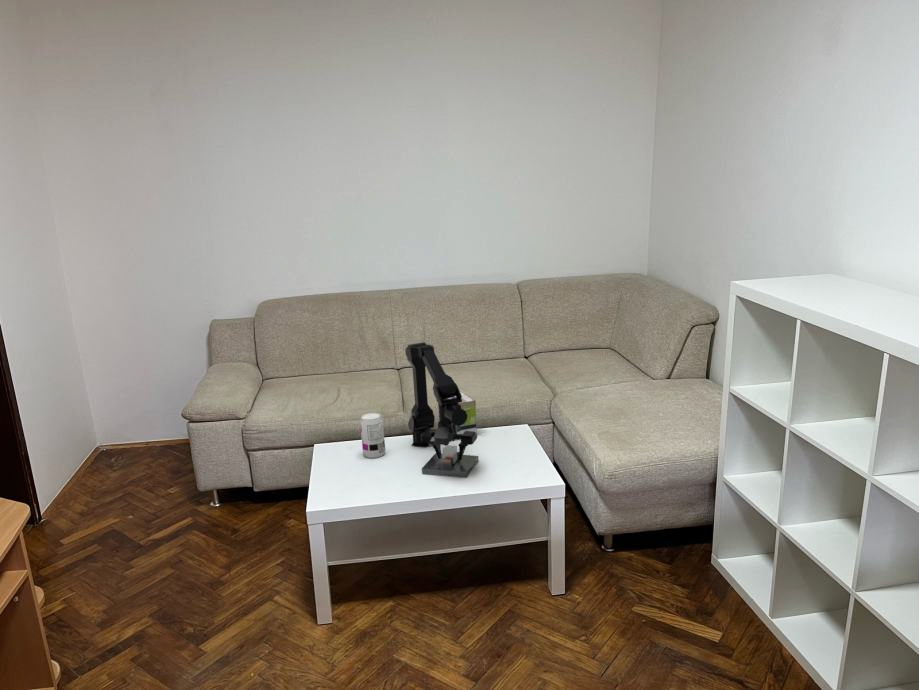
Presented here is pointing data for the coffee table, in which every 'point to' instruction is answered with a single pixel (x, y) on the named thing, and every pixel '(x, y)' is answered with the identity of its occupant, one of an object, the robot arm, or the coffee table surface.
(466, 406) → the tea box
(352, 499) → the coffee table surface
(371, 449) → the supplement can
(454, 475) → the stand
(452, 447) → the grey metal cube
